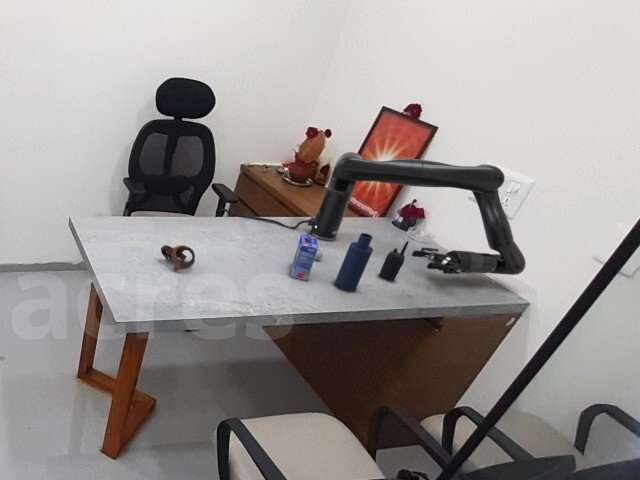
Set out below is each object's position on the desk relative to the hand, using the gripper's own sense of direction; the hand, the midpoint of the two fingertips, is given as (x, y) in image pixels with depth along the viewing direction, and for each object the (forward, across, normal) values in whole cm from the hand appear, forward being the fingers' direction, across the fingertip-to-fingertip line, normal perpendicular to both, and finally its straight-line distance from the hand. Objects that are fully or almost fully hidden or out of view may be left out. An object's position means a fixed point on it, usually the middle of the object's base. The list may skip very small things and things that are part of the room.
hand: (420, 259), depth 177 cm
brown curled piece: (+84, -3, +9) cm, 85 cm away
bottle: (+28, +7, +8) cm, 30 cm away
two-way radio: (+9, 0, +9) cm, 13 cm away
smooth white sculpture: (+30, -14, +9) cm, 34 cm away
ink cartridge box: (+41, -2, +9) cm, 42 cm away
